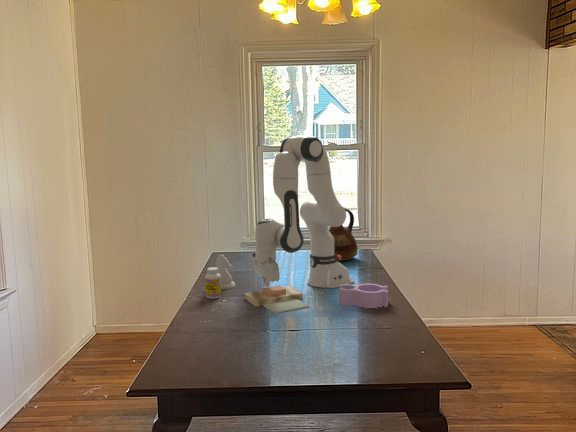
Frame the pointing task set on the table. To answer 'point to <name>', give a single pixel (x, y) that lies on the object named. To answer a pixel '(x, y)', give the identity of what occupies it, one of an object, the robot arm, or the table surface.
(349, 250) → the ceramic pitcher
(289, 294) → the beige flat block
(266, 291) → the tile
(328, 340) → the table surface
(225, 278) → the chess piece
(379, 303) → the clip
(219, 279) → the supplement bottle
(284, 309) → the mat
